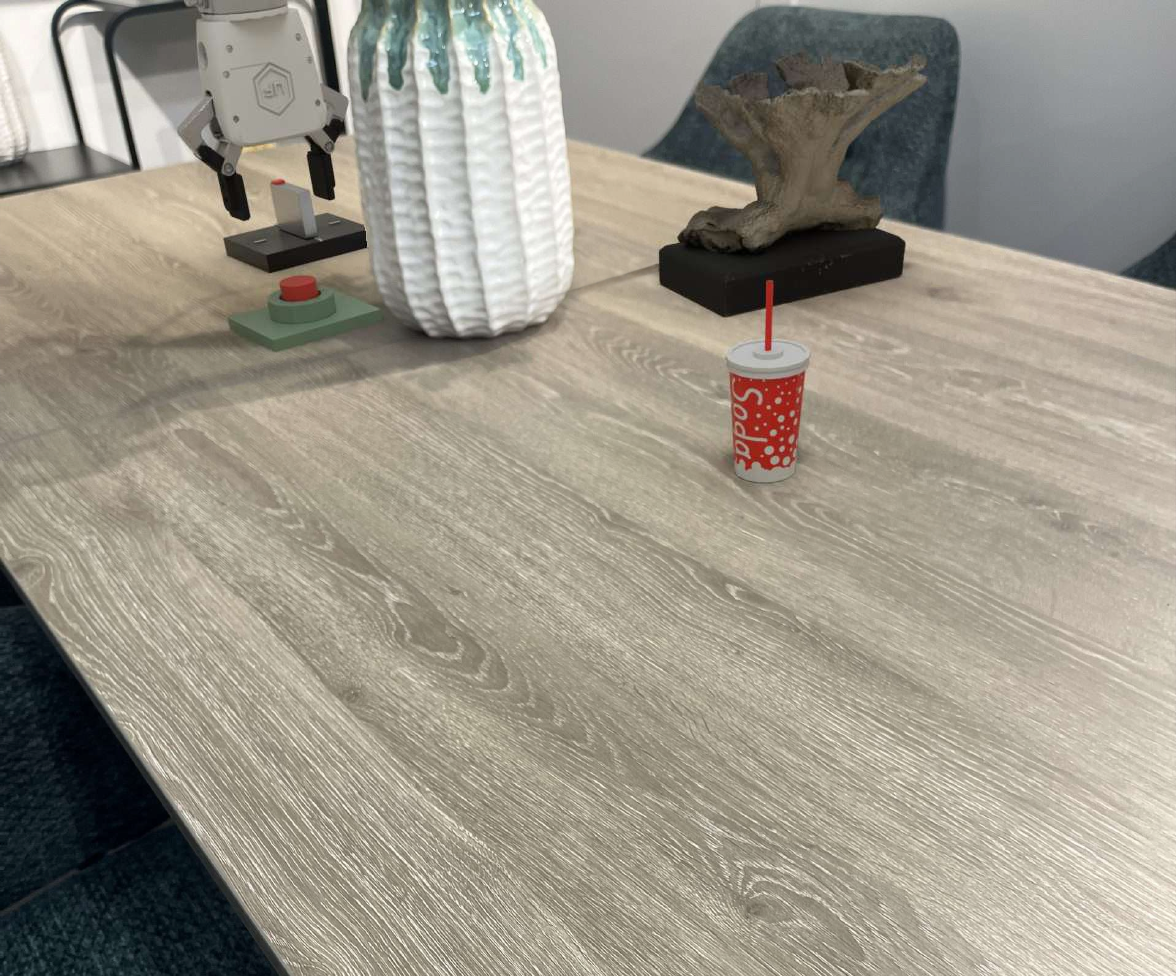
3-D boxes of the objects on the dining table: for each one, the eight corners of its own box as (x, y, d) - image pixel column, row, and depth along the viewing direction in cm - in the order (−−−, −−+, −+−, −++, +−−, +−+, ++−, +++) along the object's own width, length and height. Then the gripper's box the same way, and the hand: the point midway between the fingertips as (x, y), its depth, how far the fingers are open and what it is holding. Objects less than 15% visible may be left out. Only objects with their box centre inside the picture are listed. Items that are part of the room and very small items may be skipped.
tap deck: (272, 282, 144) (266, 253, 142) (228, 264, 151) (222, 236, 150) (378, 254, 151) (373, 226, 149) (331, 237, 158) (326, 210, 156)
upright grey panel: (318, 236, 147) (309, 187, 144) (305, 239, 147) (296, 190, 143) (290, 225, 152) (281, 178, 149) (278, 228, 151) (268, 180, 148)
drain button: (293, 307, 125) (289, 288, 124) (276, 299, 127) (272, 281, 126) (325, 298, 127) (322, 279, 125) (308, 290, 129) (304, 272, 128)
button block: (278, 362, 123) (269, 320, 121) (232, 339, 130) (222, 299, 127) (384, 331, 129) (377, 290, 126) (335, 309, 135) (328, 270, 133)
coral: (854, 241, 143) (869, 21, 130) (968, 287, 128) (997, 43, 115) (655, 281, 136) (649, 52, 123) (751, 335, 121) (756, 81, 108)
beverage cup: (711, 463, 99) (711, 277, 90) (781, 447, 100) (788, 263, 92) (746, 493, 94) (750, 300, 86) (820, 476, 96) (830, 285, 87)
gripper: (167, 12, 105) (217, 235, 115) (350, -15, 113) (381, 195, 123) (131, 7, 110) (182, 221, 120) (309, -19, 118) (342, 183, 128)
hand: (283, 207), depth 122 cm, fingers open, 8 cm apart
